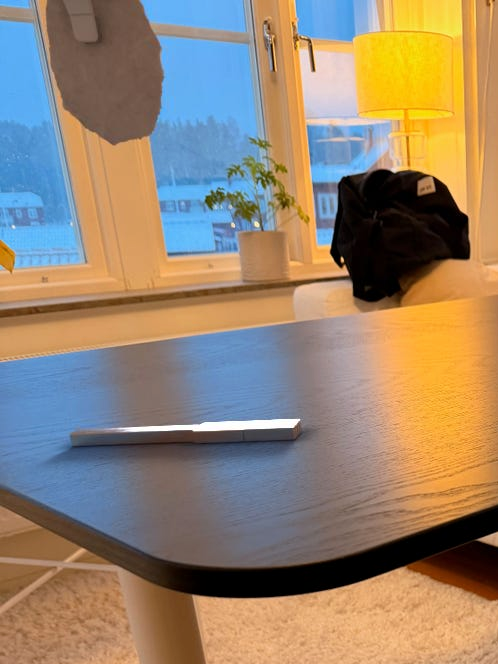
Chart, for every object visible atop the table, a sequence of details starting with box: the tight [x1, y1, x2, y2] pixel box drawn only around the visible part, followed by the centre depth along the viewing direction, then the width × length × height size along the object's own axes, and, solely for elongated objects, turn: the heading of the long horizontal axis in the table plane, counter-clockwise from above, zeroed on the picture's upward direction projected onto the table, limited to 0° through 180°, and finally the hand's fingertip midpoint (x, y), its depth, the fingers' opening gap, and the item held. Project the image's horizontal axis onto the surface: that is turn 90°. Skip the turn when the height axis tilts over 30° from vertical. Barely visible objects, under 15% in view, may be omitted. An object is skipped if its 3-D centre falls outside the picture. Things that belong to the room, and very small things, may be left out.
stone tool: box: [45, 0, 166, 146], centre depth 74 cm, size 9×3×15 cm, turn 106°
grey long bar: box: [69, 418, 302, 447], centre depth 70 cm, size 18×3×1 cm, turn 90°
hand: (97, 46), depth 74 cm, fingers closed on stone tool, 2 cm apart
